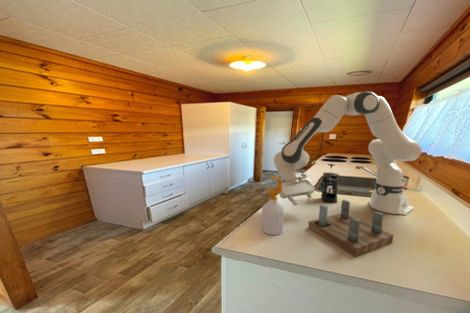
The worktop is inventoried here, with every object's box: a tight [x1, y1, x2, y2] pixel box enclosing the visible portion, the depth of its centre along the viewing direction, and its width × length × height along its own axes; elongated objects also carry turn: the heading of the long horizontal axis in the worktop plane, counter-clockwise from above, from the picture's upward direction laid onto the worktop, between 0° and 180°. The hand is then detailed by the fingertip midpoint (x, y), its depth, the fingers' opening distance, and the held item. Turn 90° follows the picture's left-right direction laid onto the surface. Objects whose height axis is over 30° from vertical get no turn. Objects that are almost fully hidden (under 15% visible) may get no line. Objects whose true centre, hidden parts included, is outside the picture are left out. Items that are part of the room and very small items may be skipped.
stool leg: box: [318, 204, 329, 228], centre depth 86 cm, size 3×3×11 cm
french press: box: [320, 163, 340, 204], centre depth 121 cm, size 12×9×23 cm
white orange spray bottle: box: [261, 174, 285, 236], centre depth 85 cm, size 9×9×25 cm
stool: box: [308, 199, 394, 257], centre depth 82 cm, size 22×22×11 cm
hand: (303, 203), depth 95 cm, fingers open, 8 cm apart
